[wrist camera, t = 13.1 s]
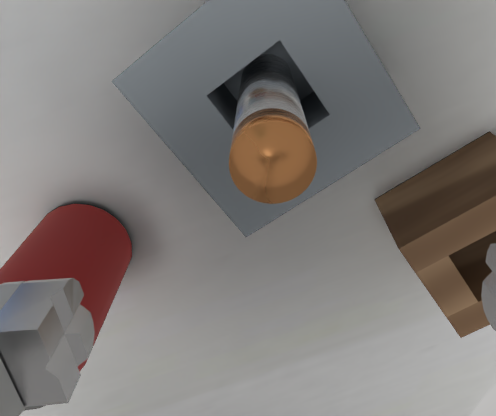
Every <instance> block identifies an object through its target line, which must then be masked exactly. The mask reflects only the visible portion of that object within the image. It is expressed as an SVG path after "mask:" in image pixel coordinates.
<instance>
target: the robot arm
mask: <svg viewBox="0 0 496 416" xmlns="http://www.w3.org/2000/svg"><path fill="white" fill-rule="evenodd" d="M486 264H487V265H488V266H489V268H490V269H491V270H492V272H491V273H490V274H489V275H488V276H487V277H486V278H485V279H484V281H483V284H482V294H481V297H482V303H483V310H484V312H485V315H486V317H487V320H488V321H489V323H490V325H491V326H492V328H493V329H494V330H496V243H493V244H490V246H489V248H488V250H487V256H486ZM83 296H84V293H83V290H82V288H81V285H80V283H79V281H77V280H76V279H74V278H64V279H48V280H32V281H17V282H7V283H2V284H0V416H19V415H20V414H21V413H22V412H23V411H24V410H25V407H30V406H41V405H52V404H62V403H68V402H69V400H70V398H71V396H72V394H73V391H74V389H75V387H76V385H77V382H78V380H79V378H80V376H81V375H80V372H79V369H78V366H79V365H80V364H81V363H83V362H84V361H85V360H86V359H88V358H89V355H90V353H91V350H92V348H93V343H94V335H95V331H94V323H93V319H92V316H91V313H90V311H88V310H87V309H86V308H85V307H83V306H82V305H81V304H80V303H81V301H82V298H83Z"/></svg>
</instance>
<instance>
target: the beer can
mask: <svg viewBox="0 0 496 416" xmlns="http://www.w3.org/2000/svg"><path fill="white" fill-rule="evenodd" d="M131 257H132V244H131V241H130V239H129V236H128V234H127V231H126V229H125V228H124V227H123V226H122V224H121V223H120V222H119V221H118V220H117V219H116V218H115V217H113V216H112V215H111V214H109V213H108V212H106V211H105V210H102V209H100V208H97V207H94V206H91V205H85V204H71V205H66V206H61V207H58V208H56V209H55V210H53V211H51V212H50V213H48V214H47V215H46V216H45V217H44V219H43V220H42V221H41V222H40V223H39V224H38V226H37V227H36V228H35V229H34V230H33V231H32V233H31V234H30V235H29V236H28V237H27V239H26V240H25V241H24V242H23V243H22V244H21V246H20V247H19V248H18V249H17V250H16V251H15V253H14V254H13V255H12V256H11V257H10V258H9V260H8V261H7V262H6V263H5V264H4V266H3V267H2V268H1V269H0V284H2V283H7V282H17V281H32V280H48V279H64V278H74V279H76V280H77V281H79V283H80V285H81V288H82V290H83V293H84V296H83V298H82V301H81V303H80V304H81V305H82V306H83V307H85V308H86V309H87V310H88V311H90V313H91V316H92V319H93V323H94V331H95V335H94V343H95V341H96V339H97V336H98V334H99V332H100V330H101V327H102V325H103V323H104V320H105V318H106V316H107V313H108V311H109V309H110V307H111V304H112V302H113V300H114V297H115V295H116V293H117V291H118V288H119V286H120V284H121V281H122V279H123V277H124V275H125V272H126V270H127V268H128V265H129V262H130V260H131ZM94 343H93V346H94ZM86 362H87V359H86V360H85V361H84V362H83V363H81V364H80V365H79V366H78V369H79V372H80V370H81V369H82V368H83V367H84V365H85V364H86ZM43 406H45V405H41V406H30V407H25V410H30V409H37V408H41V407H43Z"/></svg>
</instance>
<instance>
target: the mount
mask: <svg viewBox="0 0 496 416" xmlns="http://www.w3.org/2000/svg"><path fill="white" fill-rule="evenodd" d="M375 201H376V203H377V205H378V208H379V210H380V212H381V214H382V216H383V218H384V220H385V222H386V224H387V226H388V228H389V230H390V232H391V234H392V236H393V238H394V240H395V242H396V244H397V246H398V248H399V250H400V251H401V253H402V254H403V256H404V257H405V259H406V260H407V261H408V263H409V264H410V266H411V267H412V269H413V270H414V271H415V273H416V274H417V276H418V277H419V279H420V280H421V281H422V283H423V284H424V286H425V287H426V289H427V290H428V291H429V293H430V294H431V296H432V297H433V299H434V300H435V302H436V303H437V304H438V306H439V307H440V309H441V310H442V312H443V313H444V314H445V316H446V317H447V319H448V320H449V322H450V323H451V324H452V326H453V327H454V329H455V330H456V332H457V333H458V334H459V336H460V337H461V338H462V337H464V336H466V335H468V334H470V333H472V332H475V331H477V330H479V329H481V328H483V327H485V326H487V325H490V323H489V321H488V320H487V317H486V315H485V312H484V310H483V303H482V297H481V294H482V284H483V281H484V279H485V278H486V277H487V276H488V275H489V274H490V273H491V272H492V270H491V269H490V268H489V266H488V265H487V264H486V256H487V250H488V248H489V246H490V244H493V243H496V136H495V135H494V134H492V133H491V132H488V133H486V134H485V135H483V136H481V137H480V138H478V139H476V140H475V141H473V142H471V143H469V144H468V145H466V146H464V147H463V148H461V149H459V150H458V151H456V152H454V153H453V154H451V155H449V156H448V157H446V158H444V159H442V160H441V161H439V162H437V163H436V164H434V165H432V166H431V167H429V168H427V169H426V170H424V171H422V172H421V173H419V174H417V175H416V176H414V177H412V178H410V179H409V180H407V181H405V182H404V183H402V184H400V185H399V186H397V187H395V188H394V189H392V190H390V191H389V192H387V193H385V194H383V195H382V196H380V197H378V198H377V199H375Z"/></svg>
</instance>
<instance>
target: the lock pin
mask: <svg viewBox="0 0 496 416" xmlns="http://www.w3.org/2000/svg"><path fill="white" fill-rule="evenodd" d="M316 168H317V156H316V152H315V148H314V145H313V142H312V138H311V135H310V132H309V128H308V125H307V122H306V119H305V115H304V112H303V109H302V105H301V102H300V99H299V96H298V92H297V89H296V86H295V82H294V79H293V76H292V72H291V70H290V67H289V66H288V64H287V63H286V62H285V61H284V60H283V59H282V58H280V57H278V56H276V55H273V54H261V55H259V56H258V57H257V58H255V59H254V60H253V61H251V62H250V63H249V64H248V65H246V66H245V67H244V69H243V72H242V76H241V83H240V90H239V96H238V103H237V109H236V116H235V122H234V129H233V136H232V142H231V149H230V155H229V171H230V175H231V178H232V180H233V182H234V184H235V185H236V187H237V188H238V189H239V190H240V191H241V192H242V193H243V194H244V195H246V196H247V197H249V198H251V199H253V200H255V201H258V202H261V203H267V204H277V203H283V202H287V201H289V200H292V199H294V198H296V197H297V196H299V195H300V194H302V193H303V192H304V191H305V190H306V189H307V188H308V186H309V185H310V184H311V182H312V180H313V178H314V176H315V173H316Z"/></svg>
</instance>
